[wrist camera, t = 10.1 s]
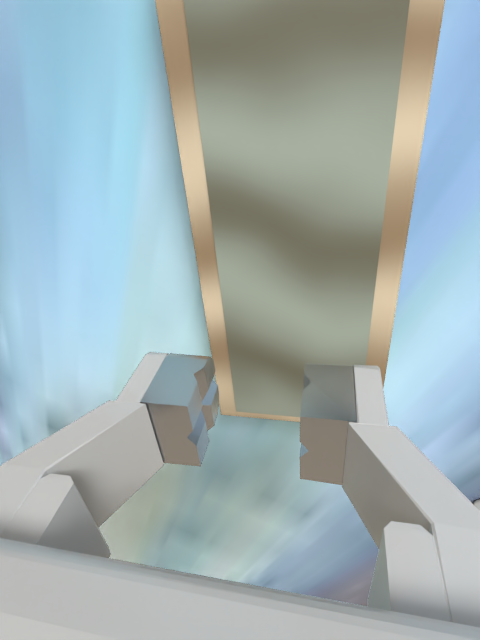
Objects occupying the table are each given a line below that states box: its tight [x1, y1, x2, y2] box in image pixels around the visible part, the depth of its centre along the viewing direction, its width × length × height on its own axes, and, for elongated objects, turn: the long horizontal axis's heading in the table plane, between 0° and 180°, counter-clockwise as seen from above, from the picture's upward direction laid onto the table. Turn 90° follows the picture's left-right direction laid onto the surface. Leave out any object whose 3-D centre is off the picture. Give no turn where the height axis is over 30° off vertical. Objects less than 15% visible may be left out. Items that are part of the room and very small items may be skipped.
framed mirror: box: [155, 0, 445, 422], centre depth 18 cm, size 23×9×4 cm, turn 5°
